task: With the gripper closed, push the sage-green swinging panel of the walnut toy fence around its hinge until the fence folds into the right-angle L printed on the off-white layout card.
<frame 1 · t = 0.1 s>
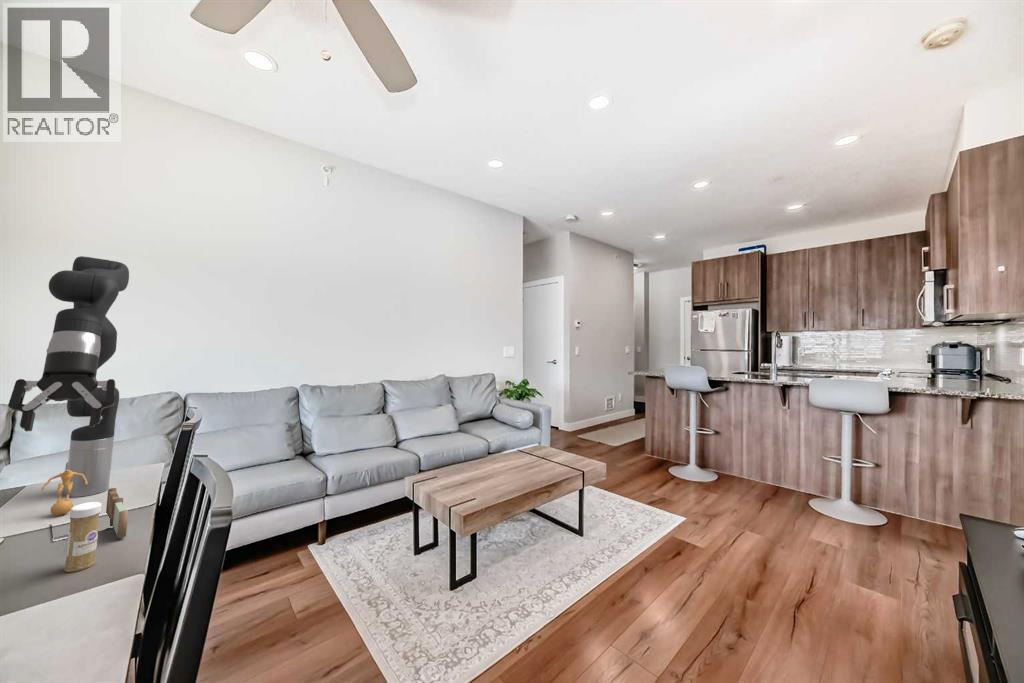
hand: (60, 428, 77), 31 cm above the table, tool tilted 20°, fingers open, 8 cm apart
sprinkles bottle: (79, 567, 81), on the table
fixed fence: (115, 525, 99), resting on layout card
swing panel: (120, 519, 95), point 4 cm above the table, hinge at 0.0°
layout card: (115, 525, 99), on the table
figurine: (62, 514, 103), on the table
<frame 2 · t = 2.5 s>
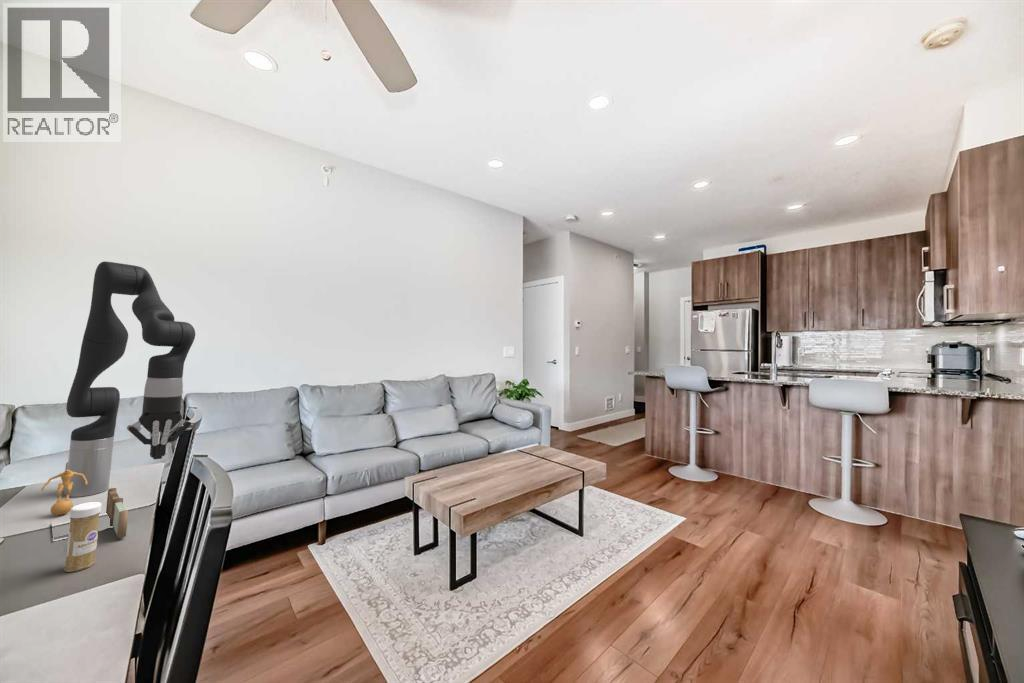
hand: (157, 458, 99), 19 cm above the table, tool pointing down, fingers closed
nothing on the table moved.
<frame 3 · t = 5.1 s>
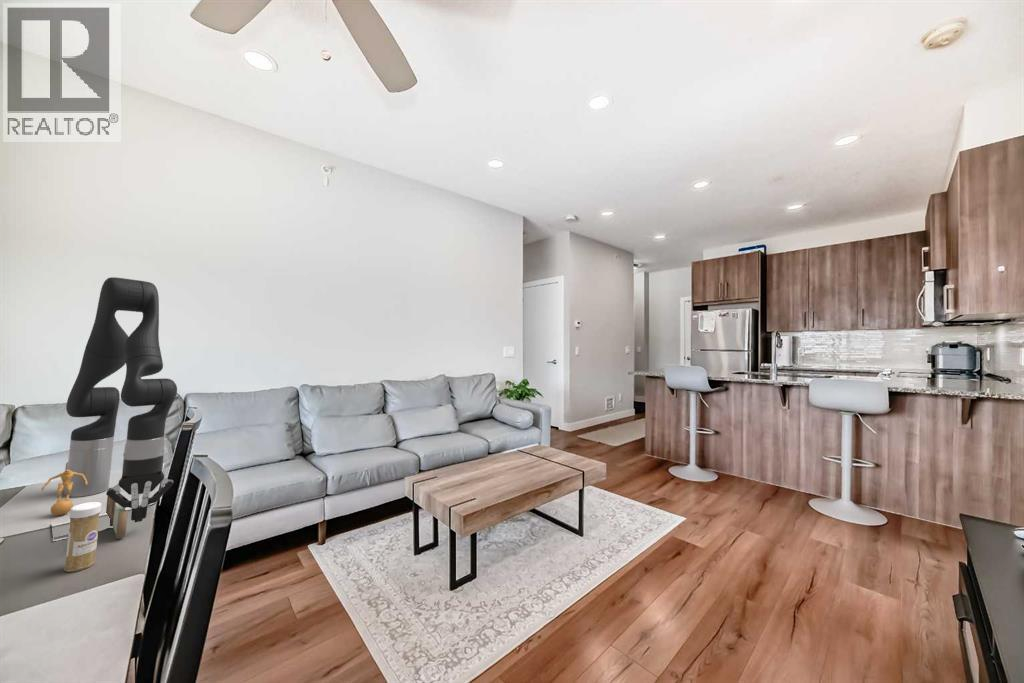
hand: (138, 520, 96), 3 cm above the table, tool pointing down, fingers closed
swing panel: (119, 519, 95), point 4 cm above the table, hinge at -0.9°, touching gripper
everything else where it was.
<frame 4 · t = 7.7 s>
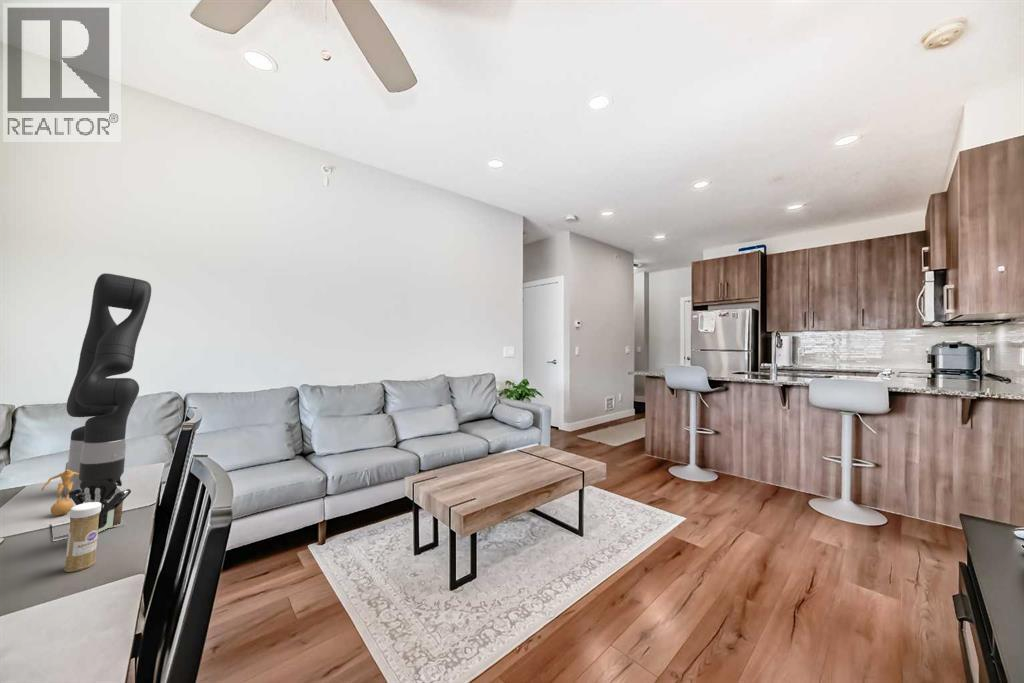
hand: (97, 528, 91), 3 cm above the table, tool pointing down, fingers closed
swing panel: (91, 522, 93), point 4 cm above the table, hinge at -51.1°, touching gripper
everything else where it was.
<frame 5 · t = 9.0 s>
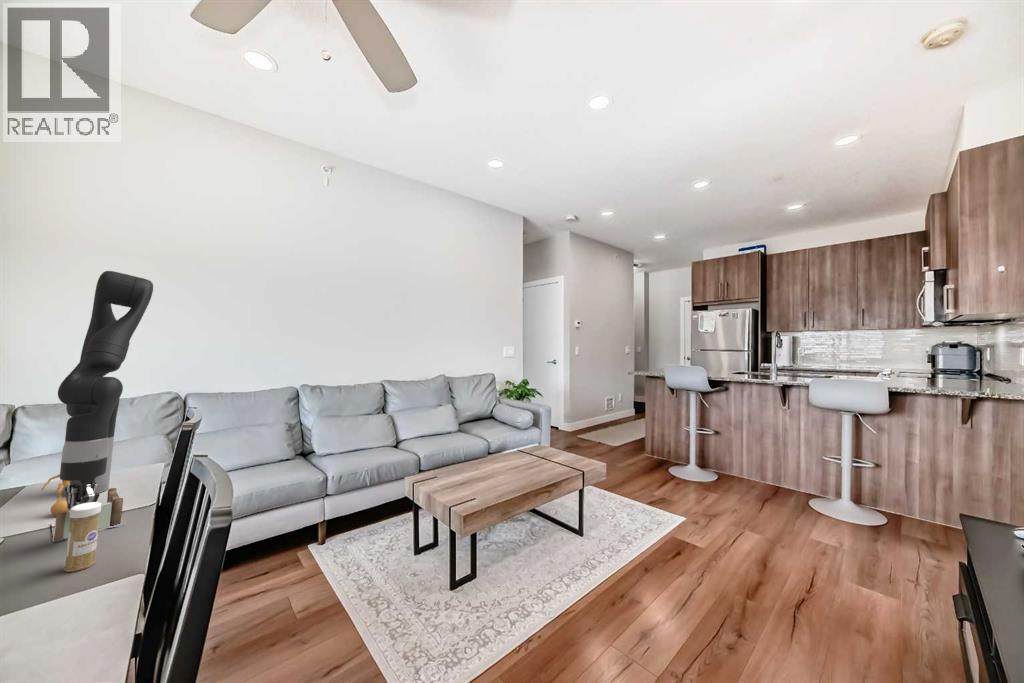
hand: (78, 528, 90), 3 cm above the table, tool pointing down, fingers closed
swing panel: (83, 520, 93), point 4 cm above the table, hinge at -77.8°, touching gripper
everything else where it was.
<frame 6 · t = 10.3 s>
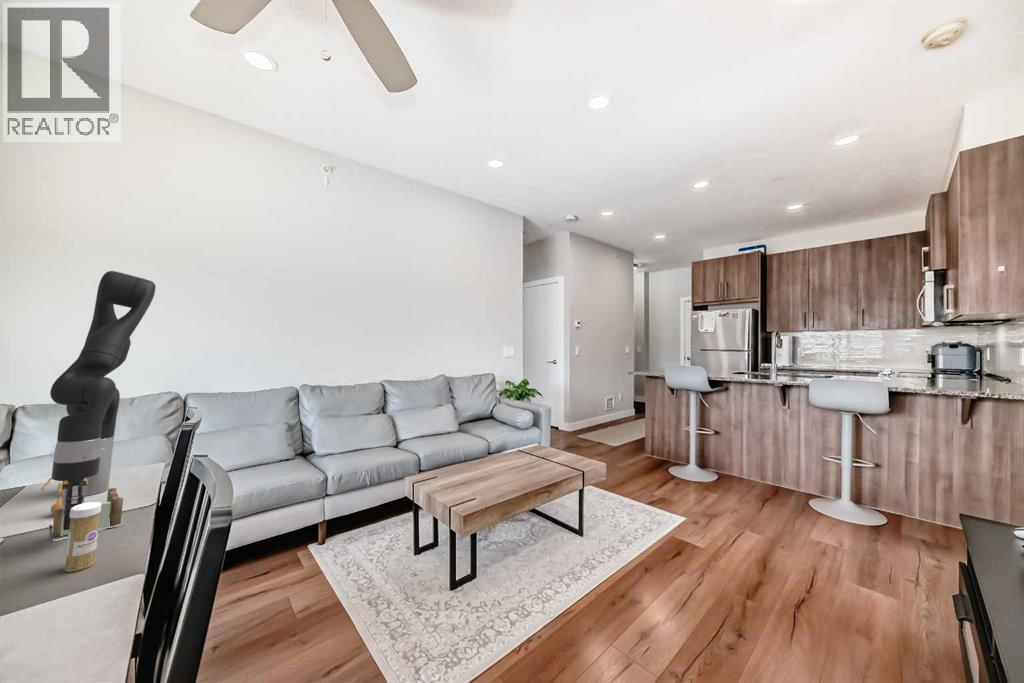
hand: (70, 528, 90), 3 cm above the table, tool pointing down, fingers closed
swing panel: (82, 518, 94), point 4 cm above the table, hinge at -95.4°
everything else where it was.
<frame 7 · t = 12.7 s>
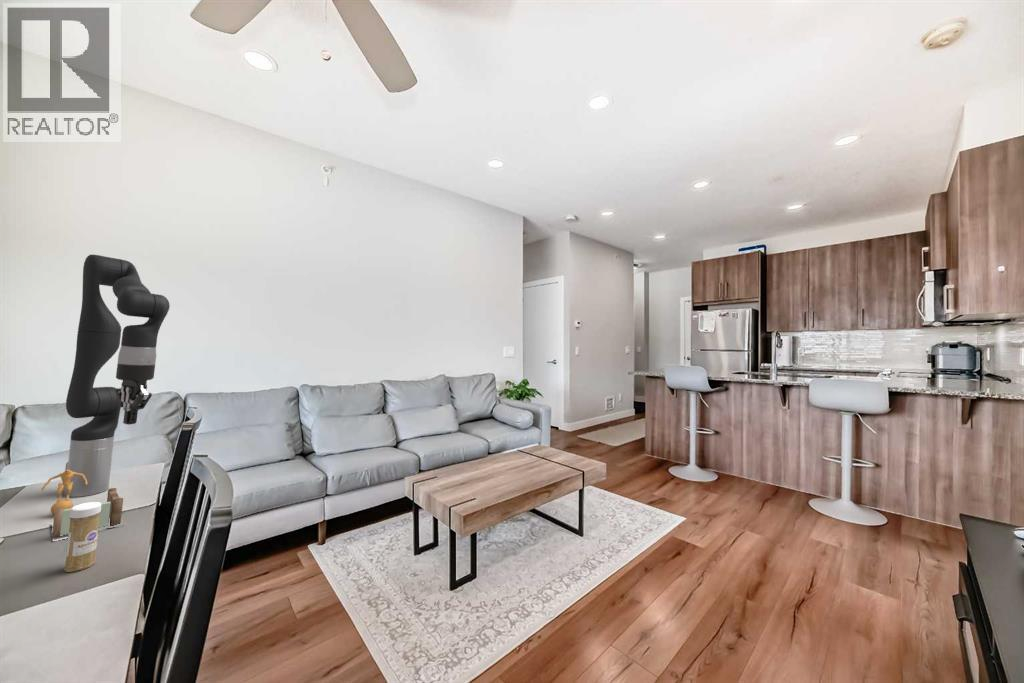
hand: (129, 423, 103), 26 cm above the table, tool pointing down, fingers closed
nothing on the table moved.
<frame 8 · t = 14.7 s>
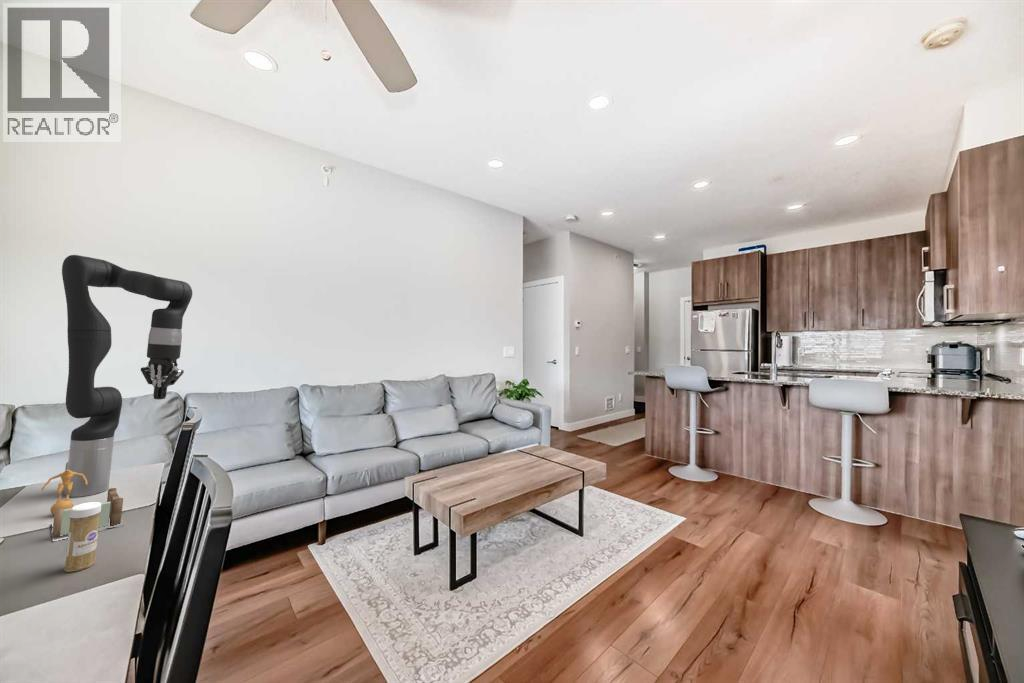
hand: (159, 398, 113), 32 cm above the table, tool pointing down, fingers closed
nothing on the table moved.
at the end: swing panel at -95° (first picture: +0°); figurine moved 0.2 cm from its start; sprinkles bottle moved 0.2 cm from its start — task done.
